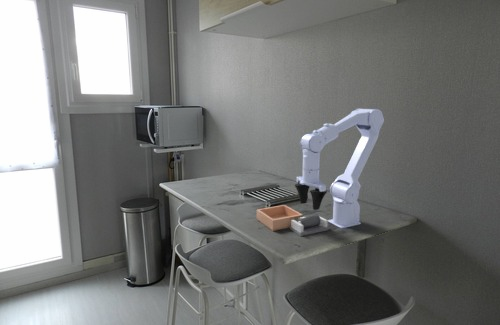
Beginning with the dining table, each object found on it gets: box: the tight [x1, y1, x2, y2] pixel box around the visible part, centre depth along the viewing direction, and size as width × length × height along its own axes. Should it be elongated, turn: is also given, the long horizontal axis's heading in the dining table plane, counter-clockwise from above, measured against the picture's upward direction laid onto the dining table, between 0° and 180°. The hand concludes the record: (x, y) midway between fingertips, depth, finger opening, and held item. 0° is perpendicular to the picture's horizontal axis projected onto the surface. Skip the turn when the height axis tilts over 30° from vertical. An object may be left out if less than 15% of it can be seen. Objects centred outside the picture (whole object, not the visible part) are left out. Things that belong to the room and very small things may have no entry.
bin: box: [256, 204, 304, 232], centre depth 126 cm, size 13×13×4 cm
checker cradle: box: [289, 215, 330, 237], centre depth 119 cm, size 12×7×4 cm, turn 116°
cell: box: [297, 214, 321, 228], centre depth 119 cm, size 8×4×4 cm, turn 116°
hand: (309, 206), depth 117 cm, fingers open, 7 cm apart
